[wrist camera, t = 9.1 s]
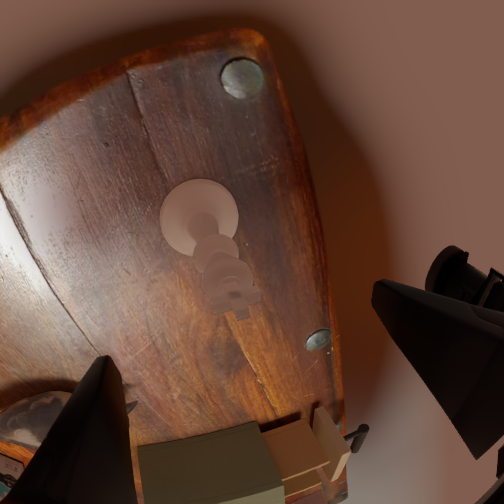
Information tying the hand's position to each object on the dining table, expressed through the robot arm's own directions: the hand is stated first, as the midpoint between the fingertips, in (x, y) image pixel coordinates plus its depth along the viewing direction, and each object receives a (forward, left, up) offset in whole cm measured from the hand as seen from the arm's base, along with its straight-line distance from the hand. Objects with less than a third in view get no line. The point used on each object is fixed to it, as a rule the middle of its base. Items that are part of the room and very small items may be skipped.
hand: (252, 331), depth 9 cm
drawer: (-5, +31, -10) cm, 33 cm away
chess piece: (0, 0, -11) cm, 11 cm away
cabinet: (+6, +31, -11) cm, 33 cm away
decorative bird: (+21, +14, -11) cm, 28 cm away
